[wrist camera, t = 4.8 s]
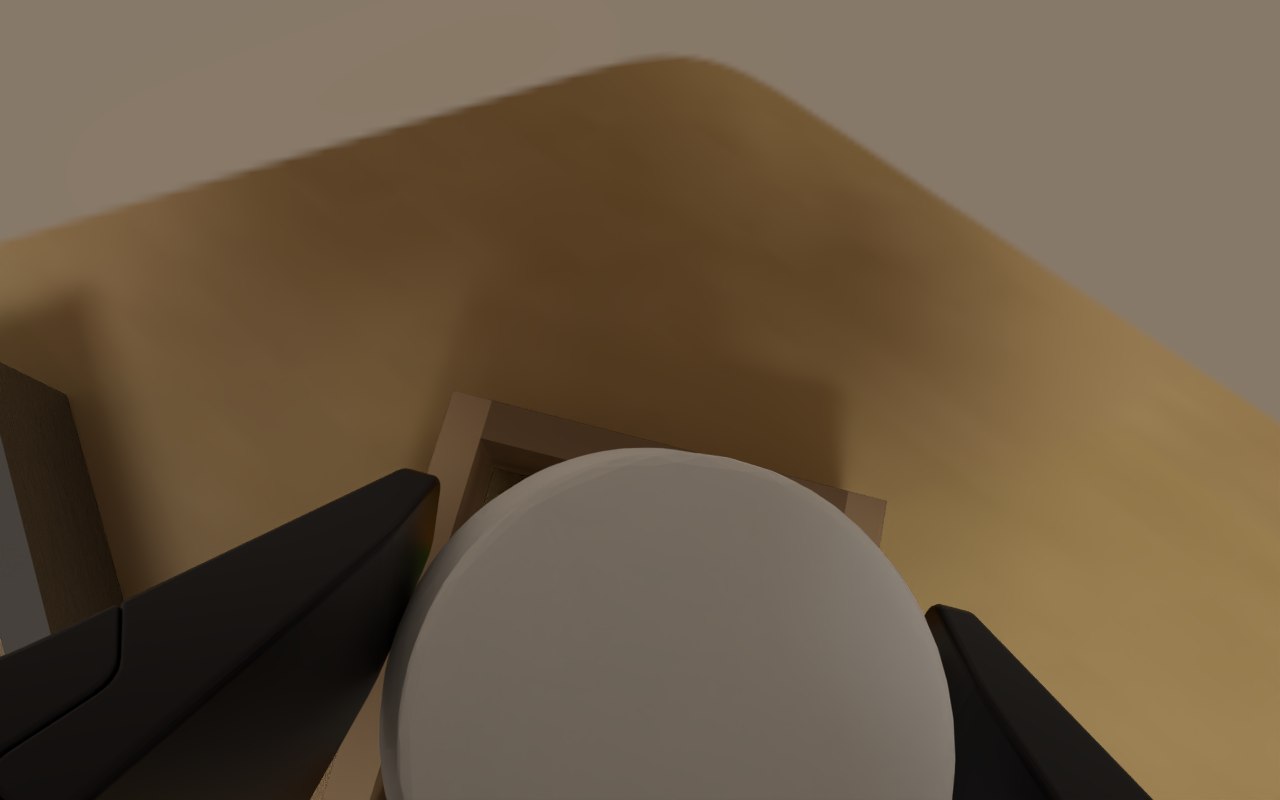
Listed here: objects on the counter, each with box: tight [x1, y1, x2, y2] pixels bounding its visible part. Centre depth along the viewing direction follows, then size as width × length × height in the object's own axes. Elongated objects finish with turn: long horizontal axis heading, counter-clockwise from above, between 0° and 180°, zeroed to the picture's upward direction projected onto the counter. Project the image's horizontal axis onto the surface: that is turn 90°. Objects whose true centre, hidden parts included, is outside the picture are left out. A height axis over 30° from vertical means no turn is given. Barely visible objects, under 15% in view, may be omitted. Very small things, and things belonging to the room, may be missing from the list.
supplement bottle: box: [379, 448, 955, 800], centre depth 11 cm, size 5×5×10 cm
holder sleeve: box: [322, 391, 887, 800], centre depth 18 cm, size 9×9×3 cm
